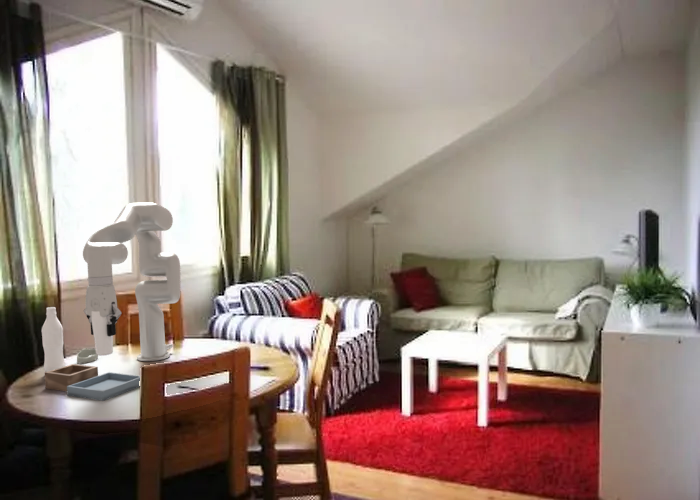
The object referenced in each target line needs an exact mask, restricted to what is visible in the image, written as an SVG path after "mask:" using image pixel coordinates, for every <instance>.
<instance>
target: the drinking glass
mask: <svg viewBox="0 0 700 500" xmlns="http://www.w3.org/2000/svg"><path fill="white" fill-rule="evenodd" d="M110 314H112V312H111V313H110ZM91 318H92V328H93V334H94V335H93V341H94V346H95V350H96V354H97V355H98V357H99V356H101V357H102V356H109V355H112V354H113V352H114V347H113V346H114V345H113V344H114V335H113V336H107V324H108V321H107V319H106V317H102V316H100V312H99V311H92V315H91ZM110 318H111V319H112V316H110Z"/></svg>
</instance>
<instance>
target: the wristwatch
mask: <svg viewBox="0 0 700 500" xmlns="http://www.w3.org/2000/svg"><path fill="white" fill-rule="evenodd" d="M98 358H99V355H97V354H96V348H95V349H94V348H93V349H92V348H82V349H81V350H80V351H79V352H78V353H77V354H76V362H77V363H78V364H85V363H90V362H95V361H96V360H97V359H98Z"/></svg>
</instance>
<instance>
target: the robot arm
mask: <svg viewBox="0 0 700 500" xmlns="http://www.w3.org/2000/svg"><path fill="white" fill-rule="evenodd" d="M173 220H174V219H173V215H172V213H171V211H170V210H169V209H167V208H165V207H164V206H163V205H160V204H158V203H157V202H156V203H154V202H131V203H128V204H126V205H125V206H124V207H123V208H122V209H121V211H120V213H119V215H117V217H116V219H115V221H114V222H112V223H111V224H110V225H107V226H105V227H103V228H101V229H98V230H97V231H95V232H94V233H93V234H91V236H90V237H89V238H88V240H87V241H86V243H85V245H84V246H83V250H82V258H83V260H84V262H86V263H87V265H86V266H87V282H88V285H87V286H86V290H85V305H84V306H85V308H84V310H83V313H84V314H85V316H86V319H88V323H89V324H90V335H92V336H94V334H93V328H92V318H91V315H92V311H99V312H100V316H102V317H106V319H107V321H108V324H107V336H113V337H114V336H115V335H117V328H116V324H117V323H118V320H119V318H120V317H121V316H122V311H121V310H120V309H119V307H118V301H117V294H116V289H115V286H114V281H113V280H114V279H113V278H114V277H113V265H119V264H122V263H124V262H125V261H126V260H127V258H128V256H129V251H128V247H126V245H125V244H124V243H126V242H128V241H131V240H133V239H134V237H136V238H137V242H138V267H139V268H138V269H139V273H140V275H141V276H143V277H148V278H149V277H151V278H153V277H154V278H158V277H159V278H160V277H161V278H162V277H166V279H149V280H146V279H145V280H142V281H139V282H138V283H137V284H136V286H135V288H134V293H135V299H136V304H137V308H138V309H137V310H138V323H139V341H140V343H139V344H140V345H139V346H140V354H138V355H137V356H136V360H138V361H141V362H157V361H161V360H165V359H167V358H169V357H170V352H168V350H170V349H172V348H173V347H174V345H173V344H172V343H168V344H166V337H165V335H166V334H165V318H164V317H165V316H164V312H163V310H162V309H161V307H160V305H161V304H162V305H163V304H164V305H165V304H167V305H169V304H176V303H178V302H179V301H180V298H181V262H180V258H179V256H178V255H177V254H175V253H173V252H162V243H161V239H160V237H159V235H158V234H157V233H156V232H162V231H163V232H165V231H168V230H170V229H171V228H172V226H173V223H174V221H173ZM111 312H112V314H110V313H111ZM110 316H112V319H111V318H110Z"/></svg>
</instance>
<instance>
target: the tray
mask: <svg viewBox="0 0 700 500" xmlns="http://www.w3.org/2000/svg"><path fill="white" fill-rule="evenodd" d="M140 376H141V375H136V374H135V375H134V374H127V373H120V372H119V373H118V372H110V371H108V372H106V373H103V374H98V376H96V377H93V378H90V379H87V380H84V381H81V382H78V383H75V384H72V385H69V386H67V391H66V392H67V396H68V397H69V396H70V397H77V398H83V399H89V400H90V399H91V400H97V401H106V400H110V399H111V398H114V397H117V396H119V395H122V394H124V393H127V392H129V391H132V390H134V389H137V388H140V387H139V381H140Z"/></svg>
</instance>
